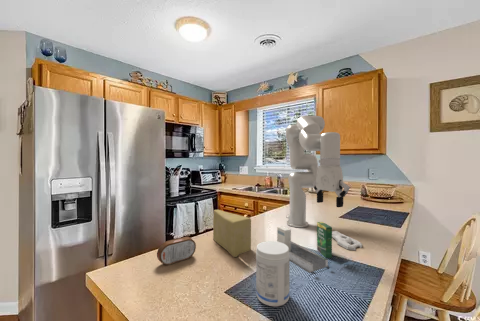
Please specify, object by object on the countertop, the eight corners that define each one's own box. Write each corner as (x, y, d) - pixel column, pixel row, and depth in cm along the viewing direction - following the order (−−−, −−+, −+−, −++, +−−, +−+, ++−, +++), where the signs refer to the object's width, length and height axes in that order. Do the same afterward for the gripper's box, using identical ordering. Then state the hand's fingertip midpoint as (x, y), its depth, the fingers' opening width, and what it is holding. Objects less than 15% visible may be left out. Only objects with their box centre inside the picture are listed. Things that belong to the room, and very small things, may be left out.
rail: (309, 275, 75) (309, 265, 75) (270, 251, 94) (270, 243, 94) (328, 268, 80) (328, 259, 80) (287, 246, 99) (288, 238, 99)
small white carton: (277, 247, 95) (277, 227, 95) (282, 246, 97) (283, 226, 97) (284, 252, 91) (284, 230, 91) (290, 250, 92) (290, 229, 92)
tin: (193, 254, 91) (193, 234, 90) (197, 257, 88) (197, 236, 88) (156, 265, 81) (156, 242, 81) (159, 268, 79) (159, 245, 79)
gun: (321, 230, 111) (337, 228, 114) (321, 237, 111) (336, 234, 115) (351, 246, 94) (368, 243, 98) (351, 254, 94) (367, 250, 98)
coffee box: (316, 251, 94) (316, 221, 94) (322, 251, 94) (323, 221, 94) (325, 260, 86) (325, 227, 86) (332, 260, 86) (332, 227, 86)
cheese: (205, 241, 104) (205, 210, 104) (222, 237, 110) (222, 207, 110) (233, 258, 87) (234, 221, 87) (251, 252, 93) (252, 217, 93)
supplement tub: (276, 284, 70) (277, 238, 69) (296, 302, 61) (297, 250, 61) (249, 292, 65) (250, 243, 65) (267, 312, 57) (267, 256, 57)
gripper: (307, 162, 95) (307, 201, 95) (342, 163, 80) (341, 210, 80) (319, 162, 99) (319, 200, 99) (355, 163, 83) (354, 208, 84)
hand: (329, 204), depth 89 cm, fingers open, 9 cm apart
